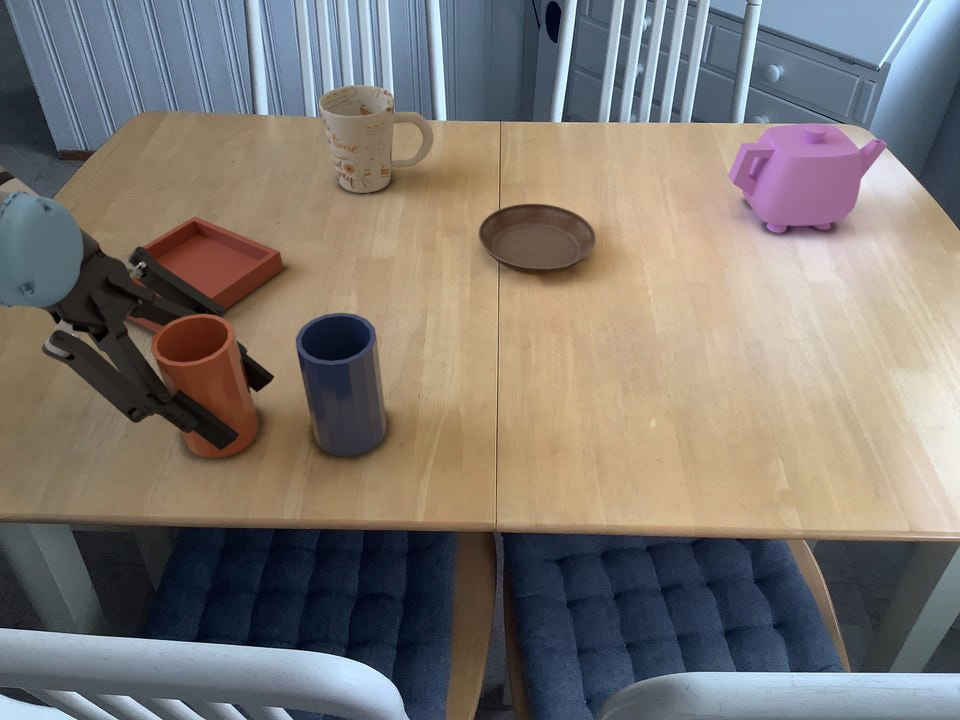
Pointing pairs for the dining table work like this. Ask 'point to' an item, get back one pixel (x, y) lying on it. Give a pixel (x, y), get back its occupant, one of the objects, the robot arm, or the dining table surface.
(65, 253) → the robot arm
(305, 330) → the blue tumbler
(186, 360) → the terracotta tumbler
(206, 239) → the red tray
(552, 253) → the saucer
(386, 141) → the mug
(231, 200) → the dining table surface
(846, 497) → the dining table surface
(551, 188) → the dining table surface
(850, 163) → the teapot
